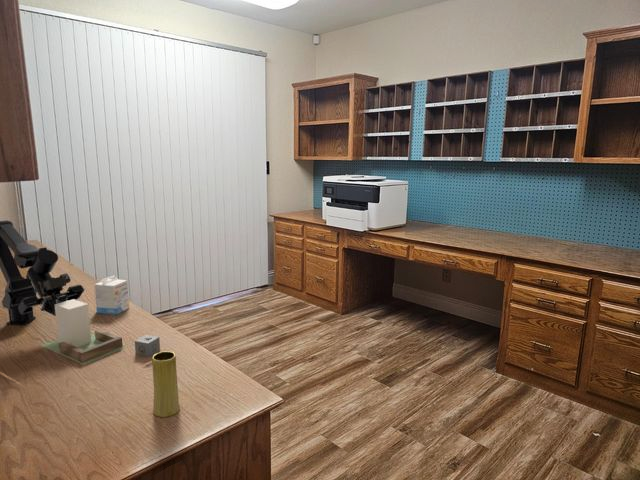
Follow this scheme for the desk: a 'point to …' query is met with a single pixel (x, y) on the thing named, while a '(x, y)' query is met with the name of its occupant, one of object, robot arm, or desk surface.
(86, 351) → the wooden tray
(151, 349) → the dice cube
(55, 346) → the putting strip
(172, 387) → the vase
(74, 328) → the cream block
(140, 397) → the desk surface
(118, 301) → the ink box
